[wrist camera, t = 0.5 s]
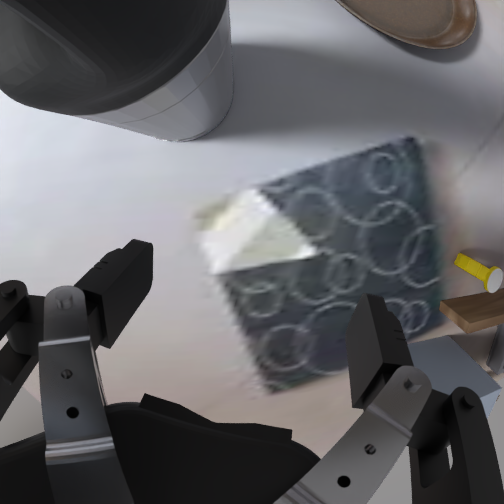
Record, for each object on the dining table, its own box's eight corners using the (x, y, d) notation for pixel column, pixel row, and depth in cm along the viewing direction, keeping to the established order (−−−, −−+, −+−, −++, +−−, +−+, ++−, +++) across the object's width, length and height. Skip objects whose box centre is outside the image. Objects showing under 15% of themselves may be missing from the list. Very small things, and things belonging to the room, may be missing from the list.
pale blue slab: (380, 349, 33) (427, 417, 21) (447, 335, 33) (501, 388, 22) (374, 382, 34) (413, 451, 23) (439, 366, 35) (485, 421, 23)
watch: (480, 260, 31) (512, 277, 25) (470, 280, 32) (501, 300, 26) (454, 242, 30) (489, 259, 24) (443, 265, 30) (477, 285, 25)
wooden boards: (440, 300, 32) (469, 323, 26) (503, 288, 32) (531, 305, 26) (416, 399, 36) (434, 426, 30) (476, 379, 36) (496, 401, 30)
